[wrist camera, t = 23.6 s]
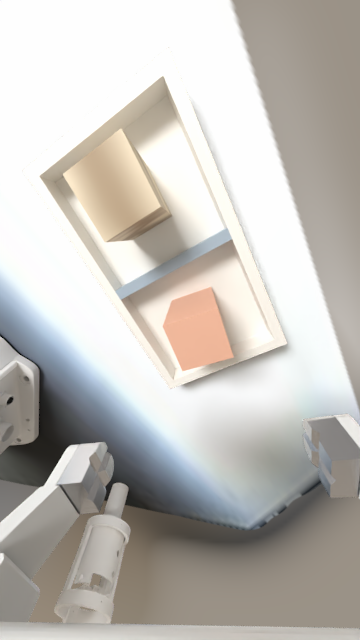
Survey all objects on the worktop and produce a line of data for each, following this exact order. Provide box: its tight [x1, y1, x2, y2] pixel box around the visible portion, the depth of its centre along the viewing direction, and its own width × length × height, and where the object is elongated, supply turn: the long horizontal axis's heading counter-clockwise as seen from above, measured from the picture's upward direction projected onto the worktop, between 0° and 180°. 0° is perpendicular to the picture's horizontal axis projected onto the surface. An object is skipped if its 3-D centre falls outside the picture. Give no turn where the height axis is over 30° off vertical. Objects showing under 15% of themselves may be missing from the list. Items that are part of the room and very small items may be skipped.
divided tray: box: [23, 47, 287, 389], centre depth 21 cm, size 25×14×3 cm, turn 28°
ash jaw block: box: [63, 128, 172, 242], centre depth 16 cm, size 4×4×7 cm
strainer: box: [54, 483, 131, 624], centre depth 31 cm, size 7×7×15 cm
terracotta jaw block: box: [163, 287, 234, 371], centre depth 20 cm, size 4×4×7 cm
